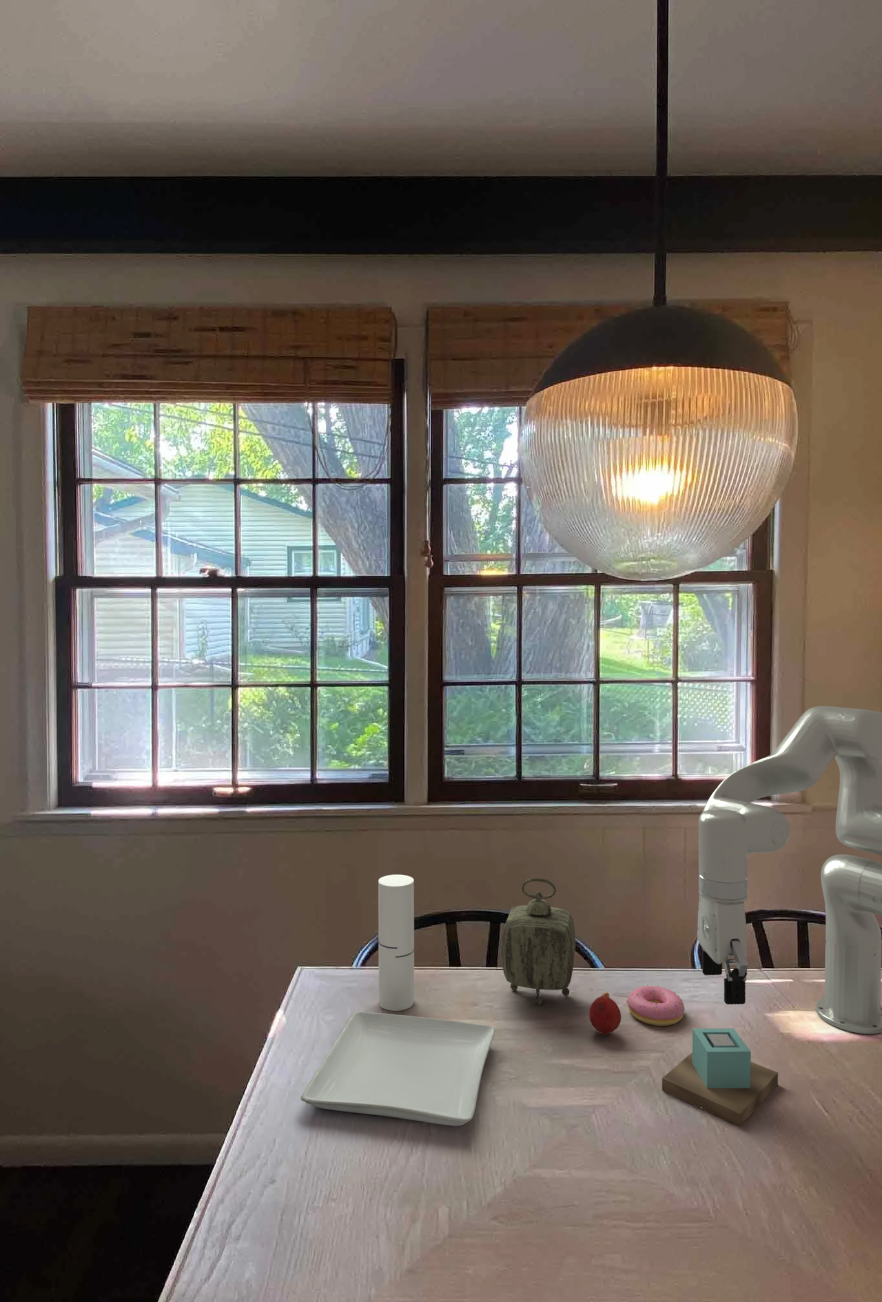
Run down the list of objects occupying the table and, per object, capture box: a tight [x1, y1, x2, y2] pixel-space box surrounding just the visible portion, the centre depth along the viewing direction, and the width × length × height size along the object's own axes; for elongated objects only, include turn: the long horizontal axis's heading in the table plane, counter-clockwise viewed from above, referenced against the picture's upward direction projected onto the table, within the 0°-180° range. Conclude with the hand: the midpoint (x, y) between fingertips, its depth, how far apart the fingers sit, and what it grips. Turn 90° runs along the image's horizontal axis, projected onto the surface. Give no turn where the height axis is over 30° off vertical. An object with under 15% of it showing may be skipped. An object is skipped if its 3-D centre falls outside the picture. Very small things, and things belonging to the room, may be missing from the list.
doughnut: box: [626, 984, 686, 1027], centre depth 149 cm, size 11×11×4 cm
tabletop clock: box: [500, 877, 577, 1006], centre depth 155 cm, size 14×9×25 cm, turn 77°
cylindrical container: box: [377, 874, 415, 1012], centre depth 154 cm, size 7×7×25 cm
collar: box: [691, 1027, 752, 1088], centre depth 125 cm, size 7×7×6 cm
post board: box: [661, 1034, 779, 1127], centre depth 125 cm, size 15×13×8 cm
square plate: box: [300, 1011, 496, 1127], centre depth 129 cm, size 27×27×4 cm
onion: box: [588, 991, 622, 1036], centre depth 141 cm, size 6×6×8 cm
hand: (723, 988), depth 125 cm, fingers open, 9 cm apart
